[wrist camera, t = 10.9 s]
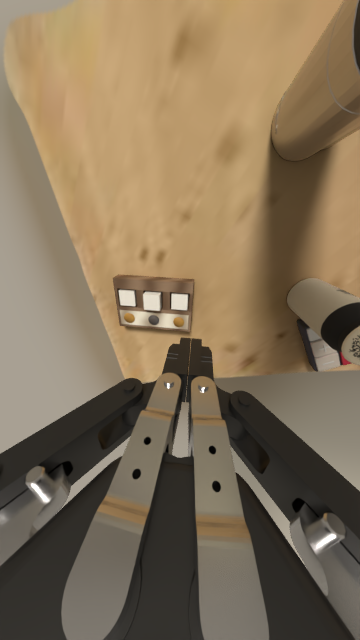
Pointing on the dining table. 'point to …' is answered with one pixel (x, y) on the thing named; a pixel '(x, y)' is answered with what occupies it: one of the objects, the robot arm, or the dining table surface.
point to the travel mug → (329, 315)
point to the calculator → (319, 350)
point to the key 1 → (128, 297)
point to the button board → (152, 318)
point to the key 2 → (179, 301)
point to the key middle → (152, 300)
